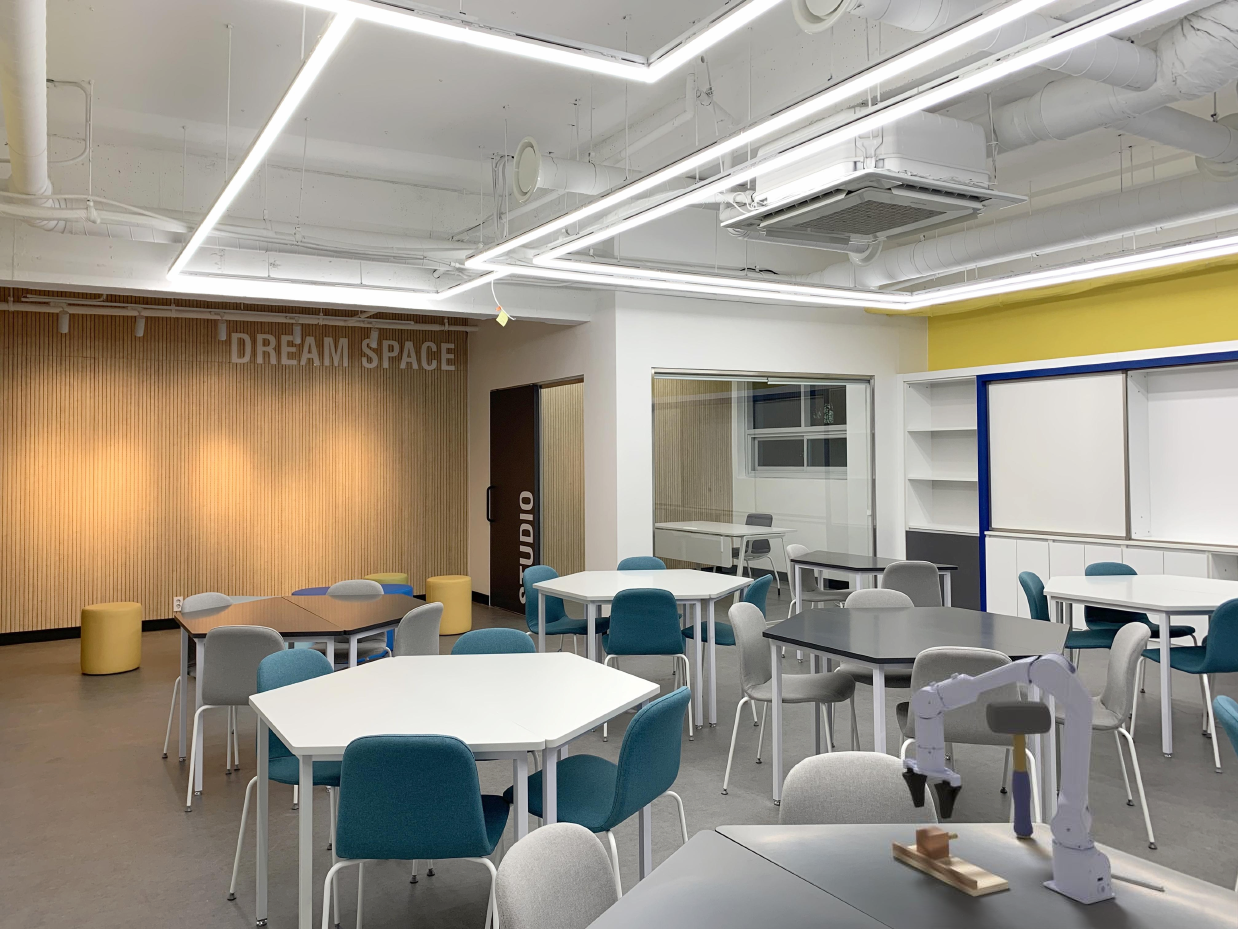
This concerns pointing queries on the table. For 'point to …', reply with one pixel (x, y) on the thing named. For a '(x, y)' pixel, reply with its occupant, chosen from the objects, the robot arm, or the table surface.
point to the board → (952, 871)
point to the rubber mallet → (1019, 749)
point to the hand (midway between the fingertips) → (932, 812)
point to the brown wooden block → (933, 842)
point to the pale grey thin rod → (1136, 881)
